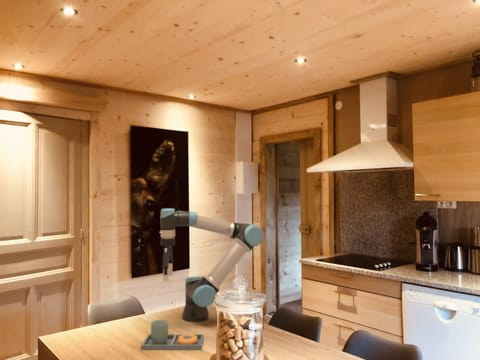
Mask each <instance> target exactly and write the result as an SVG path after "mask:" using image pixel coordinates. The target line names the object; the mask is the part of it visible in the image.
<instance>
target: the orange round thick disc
mask: <svg viewBox="0 0 480 360" xmlns="http://www.w3.org/2000/svg"><path fill="white" fill-rule="evenodd" d="M183 334H184V333H183ZM178 345H197V336H196V335H193V334H192V333H185V334H184V335H181V336H179V337H178Z"/></svg>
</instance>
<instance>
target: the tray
mask: <svg viewBox="0 0 480 360" xmlns="http://www.w3.org/2000/svg"><path fill="white" fill-rule="evenodd" d="M181 335H184V333H183V334H182V333H181V334H179V333H178V334H176V333H175V334H171V333H170V334H169V333H168V339H167V342H166V343H165V344H164V345H154V344H153V343H152V340H151V333H149V334H147V335H146V337H145V338H144V341H143V342H142V343H141V345H140V351H202V347H203V343H204V337H205V336H204V334H201V333H200V334H199V333H198V334H197V333H196V334H195V333H194V334H193V335H196V336H197V345H178V337H179V336H181Z"/></svg>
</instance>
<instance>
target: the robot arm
mask: <svg viewBox="0 0 480 360" xmlns="http://www.w3.org/2000/svg"><path fill="white" fill-rule="evenodd" d="M175 210H176V209H175V208H162V209H161V210H160V216H159V217H160V231H159V234H160V246H161V247H164V248H163V254H162V255H163V256H162V266H161V269H162V273H163V274H162V277H163V278H162V282H169V281H170V280H169V278H170V277H169V276H173V264H174V259H173V258H174V256H173V246H175V244H176V238H175V237H176V227H191V228H195V229H198V230H203V231H206V232H212V233H215V234H219V235H223V236H224V235H225V236H227V238H230V239H231V240H232V239H234V243H233V244H232V245H231V246H230V248H229V249H228V250H227V251H226V252H225V254H224V255H223V256H222V258H220V259H219V261H218V262H217V263H216V265H214V267H213V268H212V269H211V270H210V272H209V273H208V274H207V275H203V276H190V277H186V278H185V283H184V284H185V293H184V295H185V302H184V307H183V310H182V311H183V312H182V314H181V315H182V319H183V320H185V321H188V322H201V321H202V322H203V321H205V320H207V319H209V315H210V314H209V310H208V307H210V306H212V305H213V304H214V303H215V301H214V299H215V294H216V293H217V294H218V292H219V291H220V285H221V284H222V283H223V282H224V280H225V279H226V278H227V277H228V276H229V274H230V273H231V272H232V271H233V269H234V268H235V267H236V265H238V263H239V262H240V260H241V259H243V257H244V256H245V255H246V253H249V252H251V251H252V250H253V249H254V248H255V247H258V246H260V245H261V243H262V242H263V239H264V231H263V230H262V228H261V227H260V226H258V225H256V224H252V223H241V222H235V221H231V222H227V221H224V220H219V219H215V218H211V217H208V216H205V215H204V216H203V215H198V214H197V212H196V211H183V210H177V211H175ZM217 294H216V295H217ZM215 300H216V299H215Z"/></svg>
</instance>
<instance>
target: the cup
mask: <svg viewBox="0 0 480 360" xmlns="http://www.w3.org/2000/svg"><path fill="white" fill-rule="evenodd" d="M150 323H151V324H150V334H151V340H152V343H153V344H154V345H164V344H165V343H166V342H167V339H168V334H169V321H168V320H166V319H165V320H164V319H156V320H152V321H151V322H150Z"/></svg>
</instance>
